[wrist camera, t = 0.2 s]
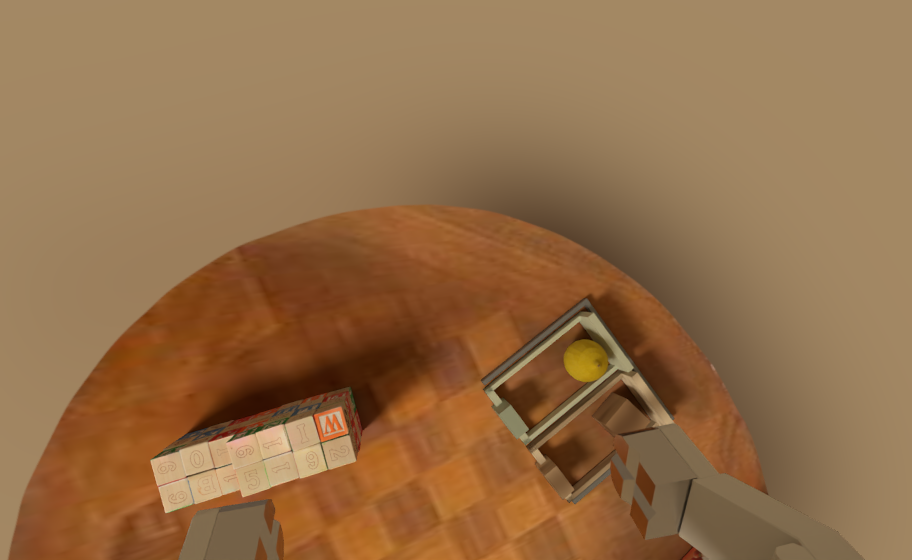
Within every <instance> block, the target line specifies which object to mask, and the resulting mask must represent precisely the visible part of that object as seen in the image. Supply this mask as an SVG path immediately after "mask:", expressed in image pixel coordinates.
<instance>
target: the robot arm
mask: <svg viewBox="0 0 912 560" xmlns="http://www.w3.org/2000/svg"><path fill="white" fill-rule="evenodd" d="M613 447H614V448H615V450H616V452H617V453H616V454H615V455H614V456H613V457H612V458H611V464H610V471H611V477H612V481H613V484H614V486H615V489H616V491H617V493H618V494H619V496H620V498H621V499H622V500H624V501H626V502H627V503H629V504H630V505H631V512H630V515H631V517H632V519H633V521H634V522H635V524H636V526H637V528H638V529H639V531H640V533H641V534H642V536H643V538H644V540H647V539H652V538H658V537H663V536H668V535H674V534H679V536H680V537H681V538H683V539H684V540H685V541H687V542H688V543H689V544H691V545H692V546H693V547H694V548H696V549H697V550H698V551H700V552H701V553H702V554H704V555H705V556H706V557H707V558H709V559H710V560H865V559H864V558H863V557H862V556H861V555H860V554H859V553H858V552H857V551H856V550H855V549H854V548H853V547H852V546H851V545H850V544H849V543H848V542H847V541H846V540H845V539H844V538H843V537H842V536H841V535H840V533H839V532H838V531H836V530H834V529H832V528H830V527H828V526H826V525H824V524H822V523H820V522H818V521H816V520H814V519H813V518H811V517H809V516H807V515H805V514H802V513H801V512H799V511H797V510H795V509H793V508H791V507H789V506H787V505H786V504H784V503H782V502H780V501H778V500H776V499H774V498H772V497H770V496H768V495H766V494H764V493H762V492H761V491H759V490H757V489H755V488H753V487H751V486H749V485H747V484H745V483H743V482H741V481H739V480H737V479H736V478H734V477H732V476H730V475H728V474H726V473H723V474H719V473H718V472H717V471H716V469H715V468H714V467H713V466H712V465H711V463H710V462H709V461H708V460H707V459H706V457H705V456H704V455H703V454H702V453H701V452H700V450H699V449H698V448H697V447H696V446H695V444H694V443H693V442H692V441H691V440H690V438H689V437H688V436H687V435H686V434H685V433H684V431H683V430H682V429H681V428H680V427H679V426H678V425H676V424H675V423H672V424H667V425H662V426H656V427H650V428H645V429H640V430H635V431H630V432H625V433H620V434H616V436H615V437H614V441H613ZM274 514H275V507H274V505H273V502H272V499H267V500H260V501H254V502H248V503H242V504H235V505H229V506H223V507H218V508H212V509H206V510H200V511H198V512H197V513H196V514H195V516H194V517H193V519H192V521H191V524H190V527H189V530H188V533H187V536H186V539H185V542H184V545H183V548H182V551H181V554H180V556H179V559H178V560H283V557H284V539H283V532H282V528H281V525H280V522H278V521H276V520H274Z"/></svg>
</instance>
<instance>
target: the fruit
mask: <svg viewBox="0 0 912 560" xmlns="http://www.w3.org/2000/svg"><path fill="white" fill-rule="evenodd" d="M564 365H565V368H566V370H567V371H568V373H569V374H570V375H571V376H572V377H573V378H575V379H576V380H579V381H582V382H591V381H595V380H598V379H599V378H601V377H602V376H603V375H604V374H605V372H606V371H607V368H608V357H607V354H606V352H605V350H604V349H603V348H602V346H600V345H599V344H598V343H596V342H594V341H591V340H587V339H582V340H578V341H575V342H574V343H572V344H571V345H570V346H569V347H568V348H567V349H566V351H565V354H564Z"/></svg>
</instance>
